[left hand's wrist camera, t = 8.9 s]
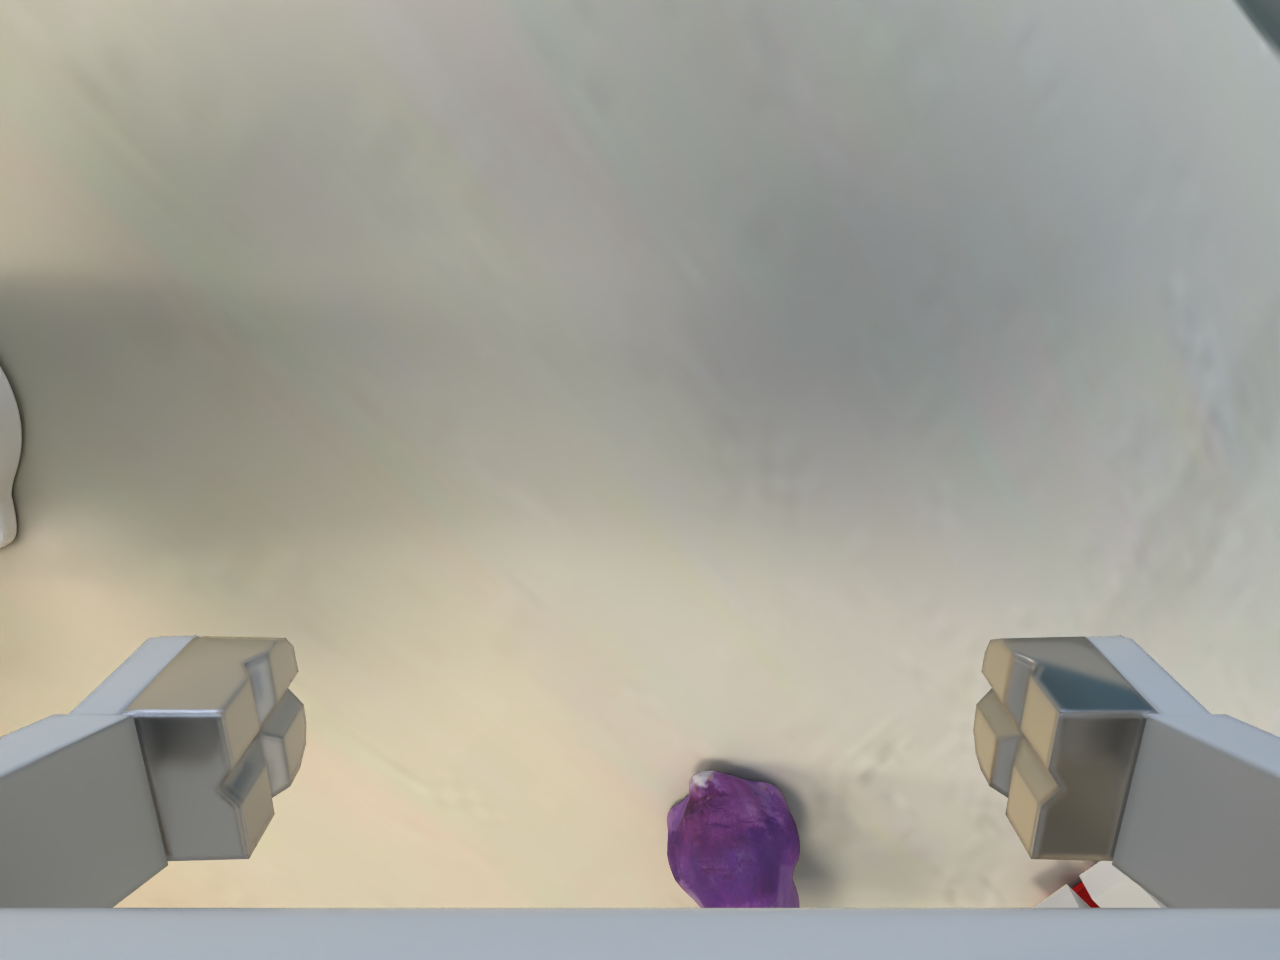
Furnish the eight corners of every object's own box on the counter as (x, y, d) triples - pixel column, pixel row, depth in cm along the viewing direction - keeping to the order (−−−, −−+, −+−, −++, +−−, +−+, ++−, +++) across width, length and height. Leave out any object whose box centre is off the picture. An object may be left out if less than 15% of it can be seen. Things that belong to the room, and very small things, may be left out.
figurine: (786, 896, 59) (832, 1124, 45) (645, 860, 58) (646, 1081, 44) (839, 789, 56) (905, 998, 42) (691, 749, 55) (708, 949, 41)
